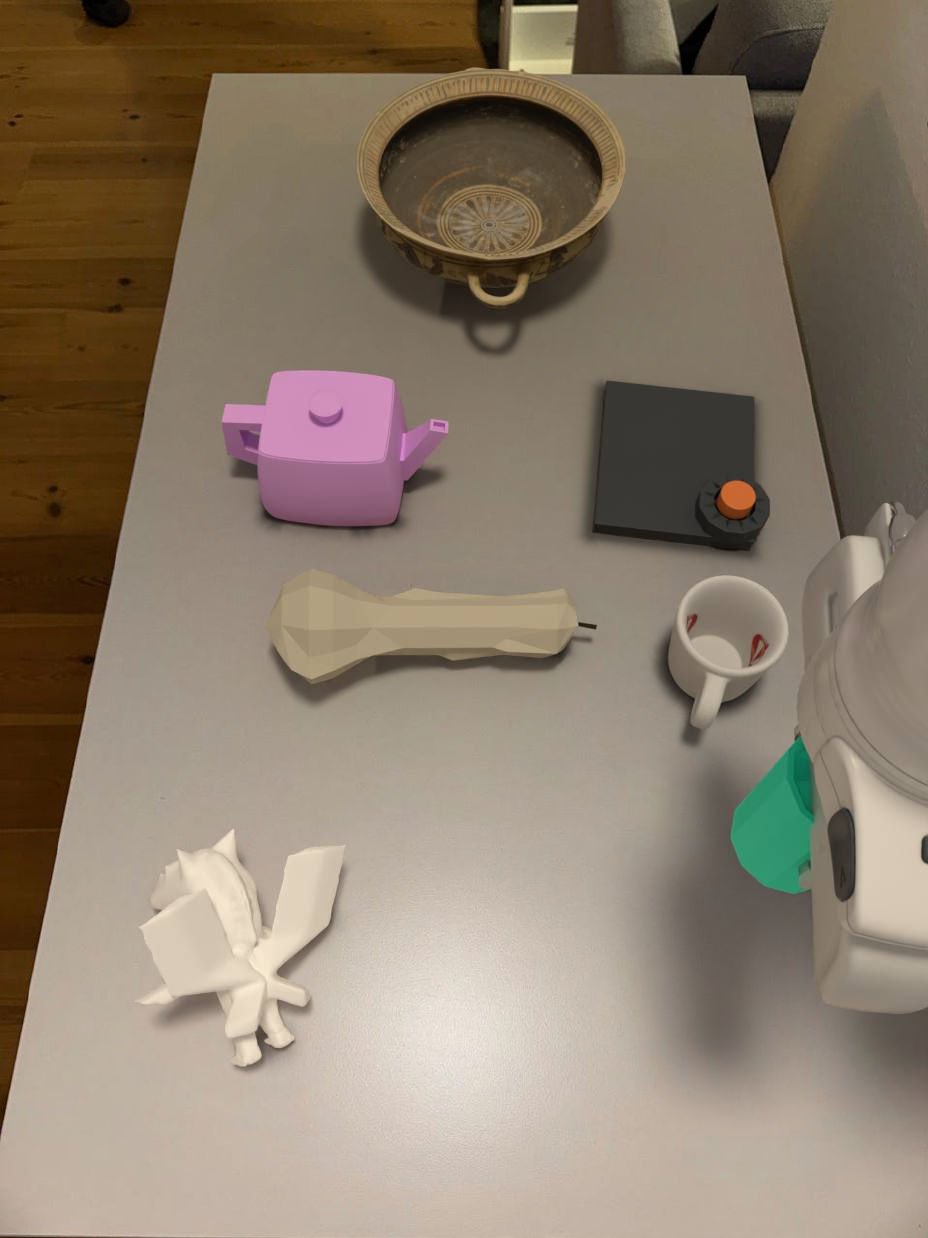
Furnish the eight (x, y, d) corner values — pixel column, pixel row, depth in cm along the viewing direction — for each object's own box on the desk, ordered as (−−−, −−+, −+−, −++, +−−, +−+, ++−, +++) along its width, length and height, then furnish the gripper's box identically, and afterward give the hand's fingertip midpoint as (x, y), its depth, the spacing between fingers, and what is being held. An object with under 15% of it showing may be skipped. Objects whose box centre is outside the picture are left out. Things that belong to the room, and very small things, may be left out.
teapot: (452, 433, 89) (452, 354, 80) (443, 537, 85) (443, 465, 75) (247, 422, 90) (224, 341, 80) (227, 524, 85) (200, 451, 76)
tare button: (750, 492, 84) (756, 482, 82) (750, 521, 83) (756, 511, 81) (716, 488, 84) (721, 478, 83) (716, 517, 83) (720, 507, 81)
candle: (858, 817, 56) (954, 743, 45) (818, 915, 53) (909, 862, 43) (755, 764, 57) (825, 680, 46) (712, 858, 55) (775, 792, 44)
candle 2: (272, 585, 81) (584, 582, 83) (272, 692, 80) (589, 686, 82) (259, 558, 73) (606, 555, 74) (257, 677, 71) (613, 671, 73)
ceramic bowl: (363, 139, 106) (355, 47, 97) (593, 133, 107) (606, 42, 98) (365, 367, 92) (356, 286, 84) (628, 359, 93) (647, 278, 84)
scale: (759, 407, 91) (769, 385, 88) (760, 555, 84) (770, 536, 82) (604, 390, 92) (609, 367, 89) (592, 536, 85) (597, 516, 82)
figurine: (301, 1002, 75) (249, 816, 76) (396, 1006, 67) (337, 797, 68) (108, 1101, 65) (52, 884, 66) (193, 1120, 57) (127, 872, 58)
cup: (739, 763, 76) (770, 725, 69) (636, 730, 77) (655, 689, 70) (768, 639, 81) (799, 592, 74) (670, 610, 82) (691, 560, 75)
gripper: (829, 473, 44) (747, 618, 56) (856, 974, 35) (750, 1015, 47) (980, 488, 43) (863, 630, 56) (1046, 997, 34) (889, 1032, 47)
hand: (812, 809), depth 51 cm, fingers closed on candle, 5 cm apart
